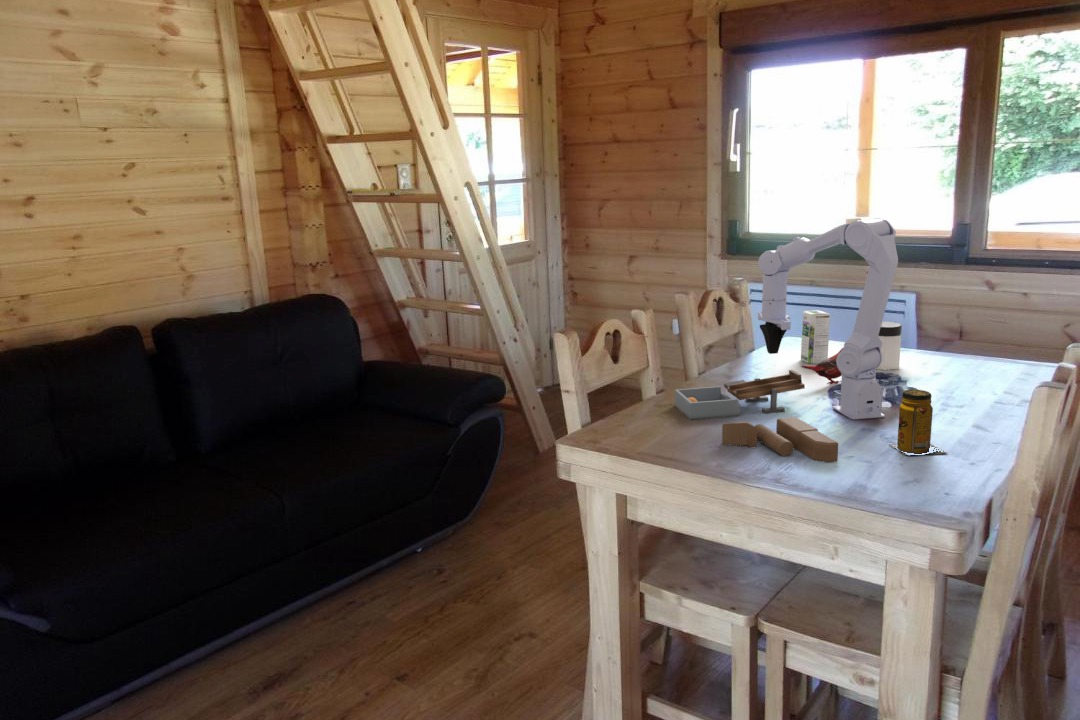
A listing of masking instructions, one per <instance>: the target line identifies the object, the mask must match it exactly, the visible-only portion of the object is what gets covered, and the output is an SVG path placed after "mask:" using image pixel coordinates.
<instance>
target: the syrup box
mask: <svg viewBox="0 0 1080 720" xmlns="http://www.w3.org/2000/svg"><path fill="white" fill-rule="evenodd" d="M830 321H831V313H828V312H825V311H822V310H817V309H813V310H811V309H810V310H804V311H803V312H802V328H801V346H800V347H801V348H800V361H803V362H805V363H807V364H809V365H815V364H816V365H817V364H819V363H821V362H822V361H824V360H826V359H828V358H829V357H828V356H829V353H828V352H829V342H830V341H829V340H830V338H829V337H830Z"/></svg>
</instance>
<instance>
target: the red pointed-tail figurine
mask: <svg viewBox="0 0 1080 720" xmlns="http://www.w3.org/2000/svg"><path fill="white" fill-rule="evenodd" d="M842 349H843V347H841V349H840V350H839V351H838V352H837V353H836V354H834V355H833V356H830V357H828V359H826V360H824V361H822V362H821V363H817V364H816V365H800V368H804V369H807V370H810V371H813V372H815V373H816V374H817V375H818V376H820V377H824V378H825V379H827V380H828V382H827V383H826V385H828V384H829V385H837V384H839V383H842V380H840V381H838V380H833V379H837V378H839V377H842V376H841V372H840V371H839V369H838V367H837V364H836V359H837V356H838V354H839V353H840V352H841V351H842Z"/></svg>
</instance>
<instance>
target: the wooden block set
mask: <svg viewBox="0 0 1080 720" xmlns="http://www.w3.org/2000/svg"><path fill="white" fill-rule="evenodd" d="M775 430H776V432H775V431H774V430H772V429H771V428H769V427H767V426H766V425H765V424H762V423H759V424H758V423H757V424H756V425H754V424H752V423H750V422H749V421H736V422H734V421H733V422H727V423H726V422H725V423H724V422H723V423H722V429H721V431H722V432H721V444H722V443H724V444H725V445H729V444H731V445H730V446H736V445H739V446H738V447H743V446H747V447H746V448H751V447H758V441H759V442H761V443H762V444H764V445H765V446H767V447H768V448H770V449H771V450H772V451H774V452H776V453H777V454H778V455H780V456H781V457H788V456H790V455H792V453H793V452H794V450H795V451H797V452H800V451H801V452H800V453H802V454H804V456H805V455H806V456H807V457H808V458H810V459H811V458H812V460H813V461H816V460H817V462H823V461H824V462H825V463H835V462H834V461H836V462H837V461H838V459H839V458H838V457H839V443H838V442H837V441H836V440H834V439H833V438H830V437H829V436H827V435H825V434H824V433H822V432H820V431H819V430H818V428H816V427H815V426H812V425H810V424H809V423H807V422H805V421H804V420H803V419H800V418H799V417H796V416H791V417H781V418H777V419H776V429H775ZM757 440H758V441H757ZM724 444H723V445H724ZM740 445H741V446H740ZM793 448H794V449H793Z"/></svg>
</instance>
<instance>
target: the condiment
mask: <svg viewBox="0 0 1080 720" xmlns="http://www.w3.org/2000/svg"><path fill="white" fill-rule="evenodd" d="M933 409H934V408H933V405H932V393H931V392H929V391H926V390H923V389H906V390H903V392H902V400H901V403H900V405H899V411H898V412H899V414H898V429H897V443H896V444H897V445H898V446H897V448H898V449H899V450H900V451H903V452H907V453H914V454H922V453H927V452H929V448H930V446H931V447H935V445H934V444H932V442H931V439H932V437H931V436H932V425H933V424H932V423H933V421H932V420H933ZM894 444H895V443H894ZM894 444H890V443H889V446H891V447H892V448H893V449H894V447H896V446H893V445H894ZM896 444H895V445H896ZM935 448H938V447H937V446H936V447H935ZM935 448H934V449H935ZM939 449H940V448H939ZM939 449H938V450H939ZM936 450H937V449H936ZM933 451H934V450H933ZM944 451H945V450H943V452H941V451H939V452H938V451H936V452H933V453H935V454H933V453H929V455H940V454H947V453H948V451H945V452H944ZM902 454H903V455H905V456H906V454H904V453H902ZM929 455H928V456H929Z"/></svg>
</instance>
